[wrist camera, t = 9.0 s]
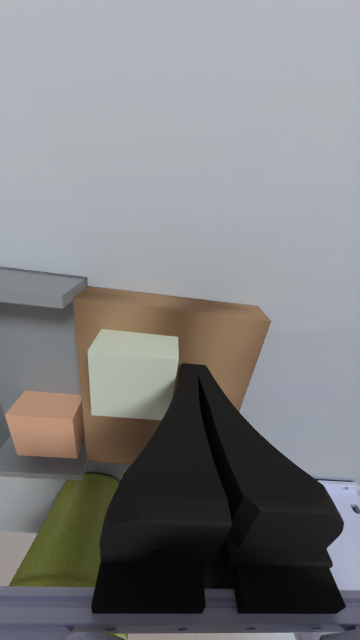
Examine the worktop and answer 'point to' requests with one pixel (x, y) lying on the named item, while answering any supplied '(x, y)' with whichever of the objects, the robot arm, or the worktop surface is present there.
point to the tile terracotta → (47, 424)
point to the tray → (37, 359)
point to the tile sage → (132, 374)
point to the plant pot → (70, 538)
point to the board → (193, 344)
